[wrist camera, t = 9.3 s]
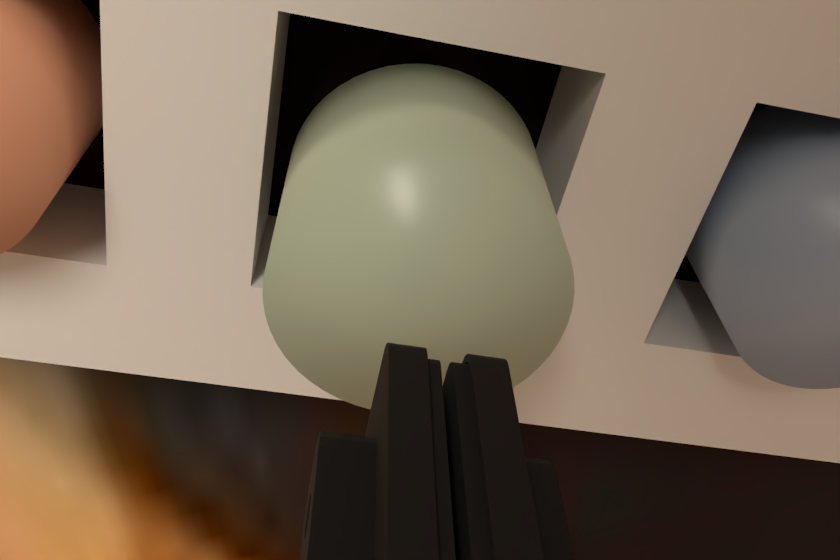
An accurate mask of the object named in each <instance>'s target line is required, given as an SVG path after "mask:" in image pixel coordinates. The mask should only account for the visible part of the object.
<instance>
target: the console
mask: <svg viewBox="0 0 840 560" xmlns="http://www.w3.org/2000/svg"><path fill="white" fill-rule="evenodd" d="M290 13H292V14H297V15H302V16H308V17H313V18H318V19H323V20H329V21H334V22H339V23H344V24H349V25H355V26H360V27H365V28H370V29H376V30H381V31H386V32H391V33H396V34H402V35H407V36H412V37H417V38H423V39H428V40H433V41H438V42H443V43H449V44H454V45H459V46H464V47H470V48H475V49H480V50H485V51H490V52H496V53H501V54H506V55H511V56H516V57H522V58H527V59H532V60H537V61H543V62H548V63H553V64H558V65H562V67H561V70H560V74H559V77H558V80H557V83H556V86H555V89H554V93H553V96H552V99H551V102H550V105H549V109H548V112H547V115H546V118H545V121H544V125H543V128H542V131H541V134H540V137H539V140H538V144H537V147H536V153H537V156H538V159H539V163H540V166H541V169H542V172H543V175H544V178H545V181H546V184H547V187H548V190H549V193H550V197H551V200H552V203H553V206H554V209H555V212H556V215H557V218H558V221H559V224H560V227H561V231H562V234H563V237H564V240H565V243H566V246H567V249H568V252H569V255H570V258H571V262H572V268H573V273H574V290H575V294H574V301H573V308H572V312H571V315H570V318H569V322H568V325H567V327H566V329H565V331H564V333H563V335H562V338H561V340H560V341H559V343H558V344H557V346H556V347H555V349H554V350H553V352H552V353H551V355H550V356H549V357H548V358H547V359H546V360H545V361H544V363H543V364H542V365H541V366H540V367H539V368H538V369H537V370H536V371H534V372H533V373H532V374H531V375H530V376H529V377H528V378H526V379H525V380H524V381H522V382H521V383H519V384H518V385H516V386H515V387H514V388H513V392H514V397H515V403H516V408H517V414H518V419H519V423H525V424H533V425H541V426H549V427H557V428H565V429H573V430H581V431H589V432H597V433H605V434H612V435H620V436H628V437H636V438H644V439H652V440H660V441H668V442H676V443H684V444H692V445H700V446H707V447H715V448H723V449H731V450H739V451H747V452H755V453H763V454H771V455H779V456H787V457H794V458H802V459H810V460H818V461H826V462H834V463H840V388H832V389H805V388H796V387H791V386H786V385H783V384H780V383H777V382H774V381H771V380H769V379H767V378H765V377H763V376H762V375H760V374H759V373H757V372H756V371H754V370H753V369H752V368H751V367H750V366H749V365H748V364H747V363H746V362H745V361H744V360H743V359H742V357H741V356H740V354H739V353H738V351H737V350H736V348H735V346H734V344H733V342H732V340H731V338H730V336H729V335H728V333H727V331H726V329H725V327H724V325H723V323H722V322H721V320H720V318H719V316H718V314H717V312H716V310H715V309H714V307H713V305H712V303H711V301H710V299H709V297H708V295H707V294H706V292H705V290H704V288H703V286H702V284H701V283H700V282H693V281H687V280H681V279H674V277H675V275H676V273H677V271H678V269H679V267H680V264H681V262H682V260H683V258H684V256H685V254H686V252H687V250H688V247H689V245H690V243H691V241H692V239H693V237H694V235H695V233H696V230H697V228H698V226H699V224H700V222H701V220H702V218H703V216H704V213H705V211H706V209H707V207H708V205H709V203H710V201H711V199H712V196H713V194H714V192H715V190H716V188H717V186H718V184H719V182H720V179H721V177H722V175H723V173H724V171H725V169H726V167H727V165H728V162H729V160H730V158H731V156H732V154H733V152H734V150H735V148H736V145H737V143H738V141H739V139H740V137H741V135H742V133H743V131H744V129H745V126H746V124H747V122H748V120H749V118H750V116H751V114H752V112H753V109H754V107H755V105H756V103H762V104H767V105H772V106H777V107H783V108H788V109H793V110H798V111H804V112H809V113H814V114H819V115H824V116H830V117H835V118H840V0H100V32H101V70H102V107H103V144H104V181H105V189H99V188H92V187H86V186H80V185H73V184H67V183H64V184H63V185H62V187H61V188H60V190H59V191H58V192H57V194H56V195H55V197H54V198H53V200H52V201H51V203H50V204H49V205H48V207H47V208H46V210H45V211H44V213H43V214H42V216H41V217H40V218H39V220H38V221H37V223H36V224H35V226H34V227H33V228H32V229H31V231H30V232H29V233H28V234H27V235H26V236H25V238H23V239H22V240H21V241H20V242H19V243H17V244H16V245H15V246H14V247H12V248H10V249H9V250H7V251H5V252H4V253H2V254H0V357H3V358H11V359H19V360H27V361H35V362H43V363H51V364H59V365H66V366H74V367H82V368H90V369H98V370H106V371H114V372H122V373H130V374H138V375H146V376H154V377H161V378H169V379H177V380H185V381H193V382H201V383H209V384H217V385H225V386H233V387H241V388H248V389H256V390H264V391H272V392H280V393H288V394H296V395H304V396H312V397H320V398H328V399H336V400H341V399H339V398H337V397H335V396H333V395H331V394H329V393H327V392H325V391H323V390H322V389H321V388H319V387H318V386H316V385H315V384H313V383H312V382H310V381H309V380H308V379H307V378H305V377H304V376H303V375H302V374H301V373H300V372H298V371H297V370H296V369H295V367H294V366H293V365H292V364H291V363H290V362H289V361H288V360H287V359H286V357H285V356H284V354H283V353H282V351H281V350H280V348H279V347H278V345H277V344H276V342H275V340H274V338H273V336H272V334H271V332H270V329H269V326H268V323H267V320H266V316H265V312H264V305H263V278H264V273H265V268H266V263H267V259H268V254H269V250H270V246H271V241H272V237H273V232H274V228H275V224H276V219H277V216H271V215H268V212H269V203H270V194H271V184H272V175H273V166H274V157H275V148H276V138H277V129H278V120H279V111H280V101H281V92H282V83H283V74H284V65H285V55H286V46H287V37H288V28H289V18H290Z"/></svg>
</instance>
